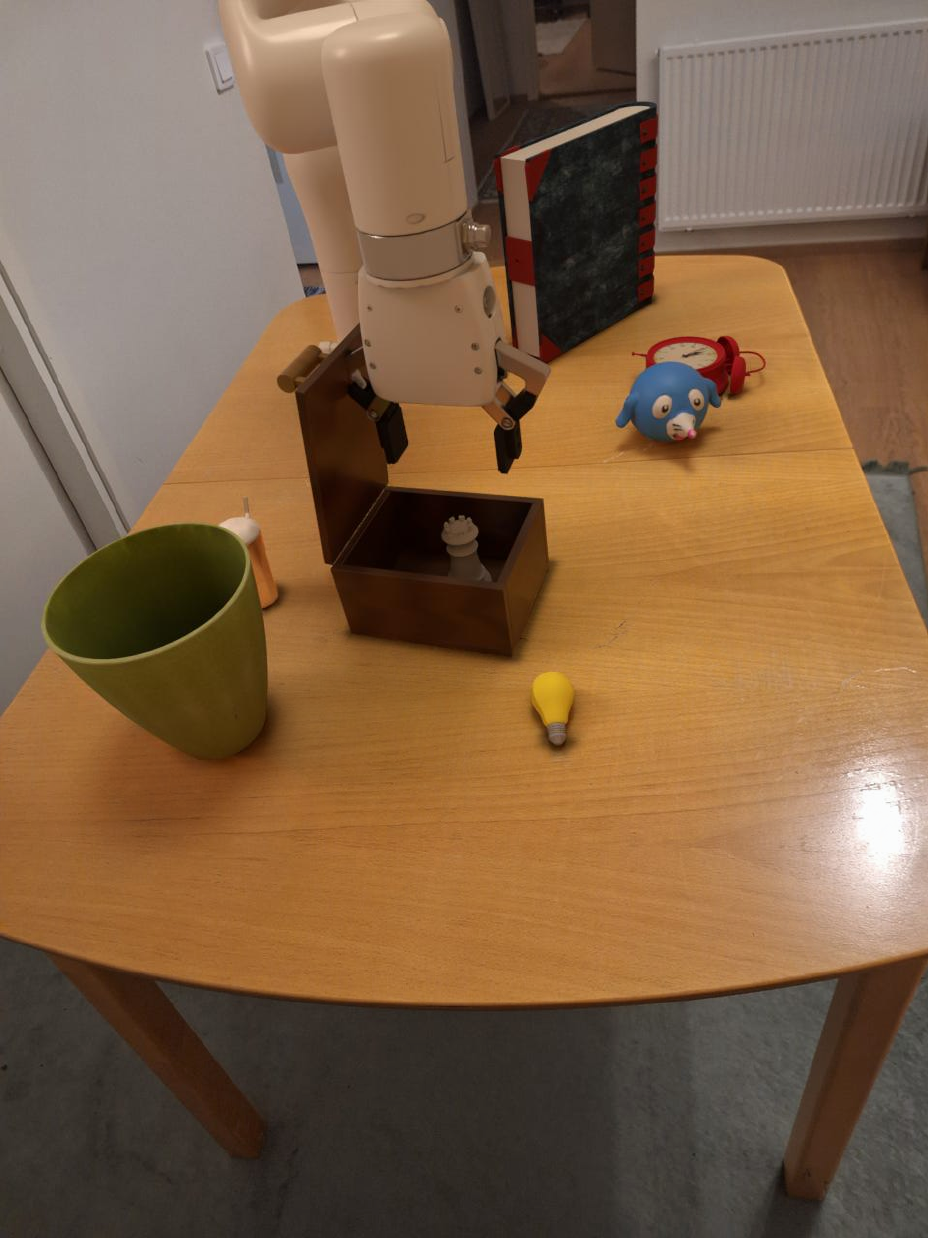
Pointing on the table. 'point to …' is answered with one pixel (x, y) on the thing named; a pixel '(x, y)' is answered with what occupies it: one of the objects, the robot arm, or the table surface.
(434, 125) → the robot arm
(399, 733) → the table surface
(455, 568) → the rook chess piece
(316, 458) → the lid
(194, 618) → the flower pot
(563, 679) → the light bulb
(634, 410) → the blue dog toy
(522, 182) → the book
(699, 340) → the alarm clock
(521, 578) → the chest
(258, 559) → the milkshake
